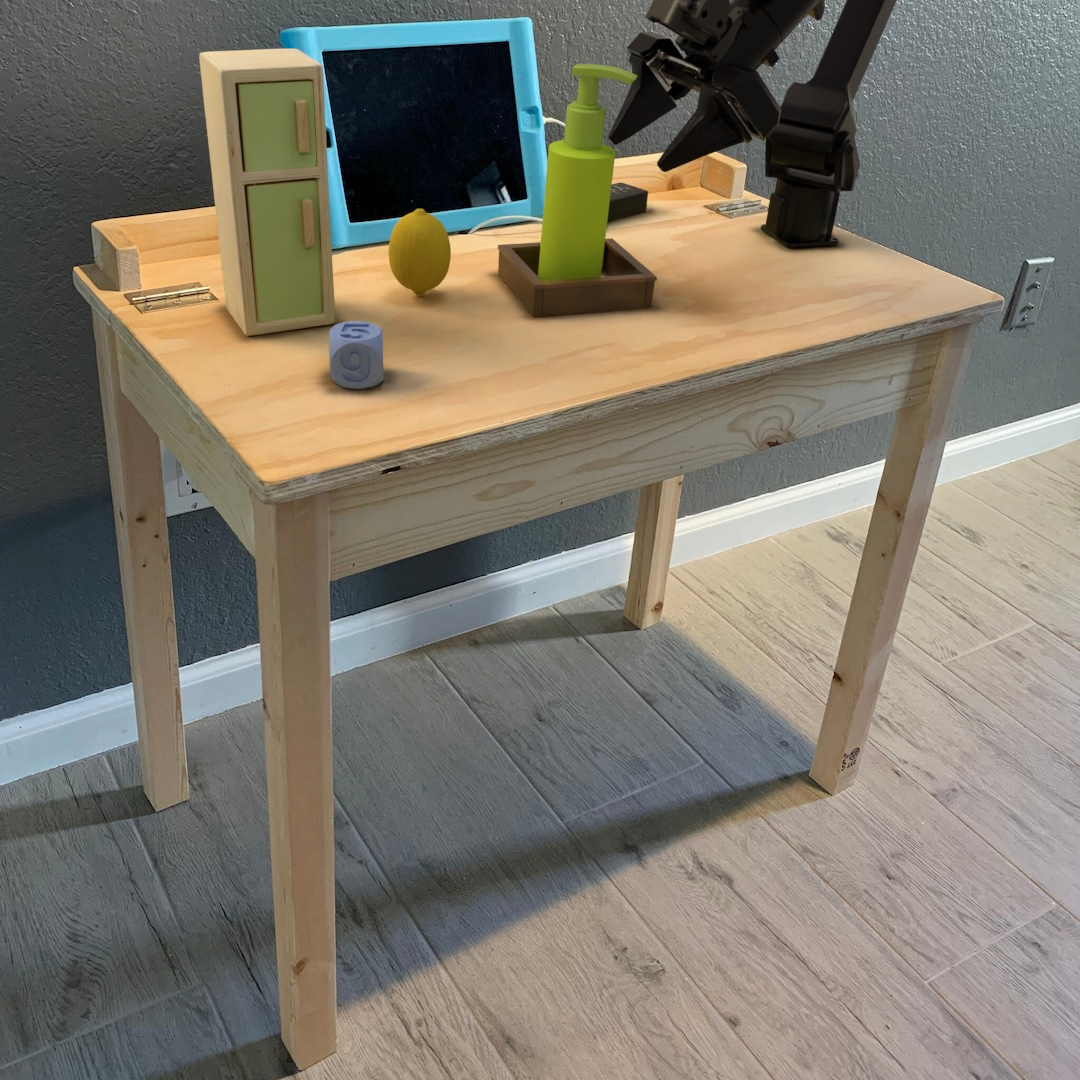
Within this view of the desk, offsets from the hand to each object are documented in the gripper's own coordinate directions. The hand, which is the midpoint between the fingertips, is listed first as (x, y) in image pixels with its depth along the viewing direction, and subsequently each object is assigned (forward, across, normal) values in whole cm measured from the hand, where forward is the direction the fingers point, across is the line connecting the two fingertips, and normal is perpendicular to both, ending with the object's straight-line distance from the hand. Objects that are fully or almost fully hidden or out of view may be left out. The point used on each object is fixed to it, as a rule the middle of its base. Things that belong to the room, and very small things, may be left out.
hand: (634, 154), depth 102 cm
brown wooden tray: (+12, 0, +5) cm, 13 cm away
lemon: (+23, -3, -5) cm, 23 cm away
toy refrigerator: (+32, -1, -14) cm, 35 cm away
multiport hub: (+3, -20, +15) cm, 25 cm away
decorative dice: (+30, +12, -12) cm, 35 cm away
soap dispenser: (+12, 0, +5) cm, 14 cm away
